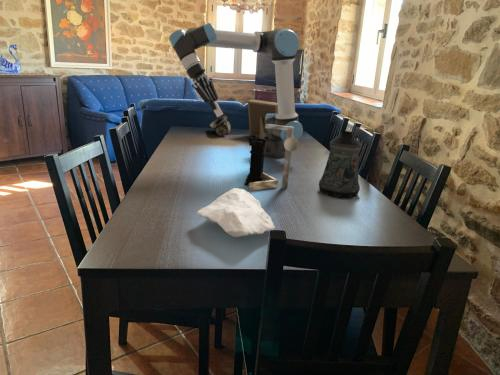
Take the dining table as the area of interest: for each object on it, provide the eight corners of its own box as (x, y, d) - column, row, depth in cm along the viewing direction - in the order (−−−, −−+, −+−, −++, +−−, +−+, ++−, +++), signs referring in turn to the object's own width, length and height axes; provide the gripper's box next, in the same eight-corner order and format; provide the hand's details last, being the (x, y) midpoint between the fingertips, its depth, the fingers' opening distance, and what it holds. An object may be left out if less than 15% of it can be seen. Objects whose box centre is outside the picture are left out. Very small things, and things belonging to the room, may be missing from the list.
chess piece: (266, 182, 159) (270, 136, 152) (262, 187, 151) (267, 139, 145) (248, 179, 160) (251, 134, 154) (244, 185, 153) (247, 137, 146)
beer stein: (335, 201, 142) (345, 137, 134) (306, 185, 158) (313, 127, 150) (367, 197, 150) (378, 136, 141) (336, 182, 166) (344, 127, 158)
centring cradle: (277, 177, 167) (282, 120, 159) (292, 189, 152) (299, 128, 144) (237, 178, 161) (241, 119, 153) (250, 191, 146) (254, 127, 138)
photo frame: (253, 134, 261) (255, 98, 253) (280, 139, 251) (283, 102, 242) (241, 137, 249) (243, 100, 241) (269, 143, 239) (272, 104, 230)
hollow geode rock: (220, 145, 245) (237, 129, 242) (207, 131, 241) (223, 115, 238) (222, 135, 271) (237, 121, 268) (210, 122, 267) (225, 108, 264)
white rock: (189, 245, 98) (195, 214, 95) (200, 198, 131) (205, 174, 128) (275, 260, 100) (283, 231, 97) (264, 210, 133) (270, 187, 130)
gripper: (196, 68, 165) (221, 115, 169) (178, 72, 155) (206, 122, 159) (207, 60, 161) (233, 108, 165) (190, 63, 151) (218, 115, 154)
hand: (220, 115), depth 162 cm, fingers closed
